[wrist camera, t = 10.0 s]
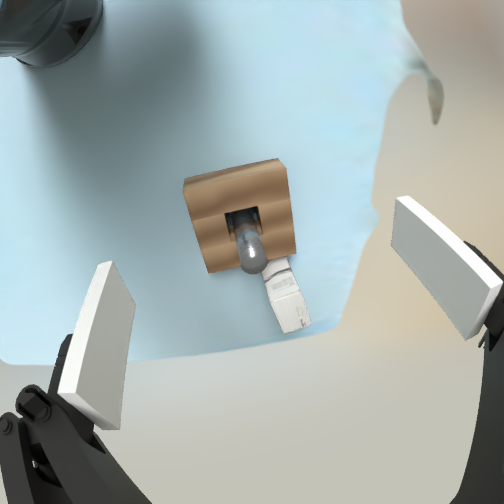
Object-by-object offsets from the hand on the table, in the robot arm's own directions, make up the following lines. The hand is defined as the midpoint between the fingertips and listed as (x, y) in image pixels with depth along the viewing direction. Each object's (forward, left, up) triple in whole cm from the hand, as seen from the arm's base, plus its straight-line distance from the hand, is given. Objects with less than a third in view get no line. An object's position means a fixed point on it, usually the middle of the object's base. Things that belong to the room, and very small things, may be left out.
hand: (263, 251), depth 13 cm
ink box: (+26, +4, -32) cm, 42 cm away
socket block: (+13, 0, -32) cm, 34 cm away
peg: (+14, 0, -32) cm, 35 cm away
